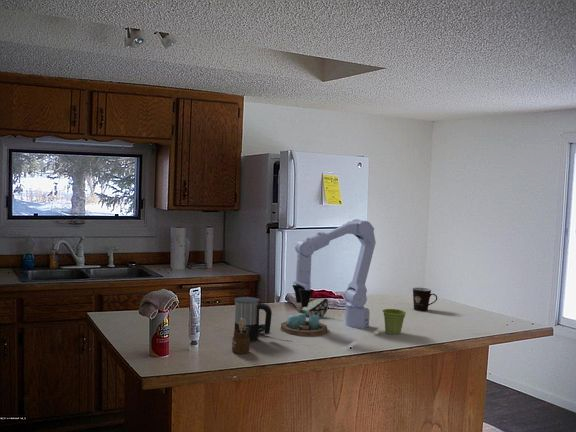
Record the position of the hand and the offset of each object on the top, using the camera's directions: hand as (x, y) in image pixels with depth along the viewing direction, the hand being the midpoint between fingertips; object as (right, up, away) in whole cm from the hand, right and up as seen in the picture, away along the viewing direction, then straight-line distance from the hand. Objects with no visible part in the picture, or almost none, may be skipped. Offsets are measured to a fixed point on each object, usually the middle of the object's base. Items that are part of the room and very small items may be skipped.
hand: (301, 304), depth 242 cm
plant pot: (+37, -12, +3) cm, 39 cm away
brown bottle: (-22, -11, -34) cm, 42 cm away
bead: (-4, -9, -4) cm, 10 cm away
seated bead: (+5, -9, -2) cm, 10 cm away
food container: (+2, -6, +27) cm, 28 cm away
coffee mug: (+58, -10, +48) cm, 76 cm away
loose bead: (-1, -9, +1) cm, 9 cm away
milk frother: (-20, -10, -14) cm, 26 cm away
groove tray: (+1, -10, -4) cm, 11 cm away
